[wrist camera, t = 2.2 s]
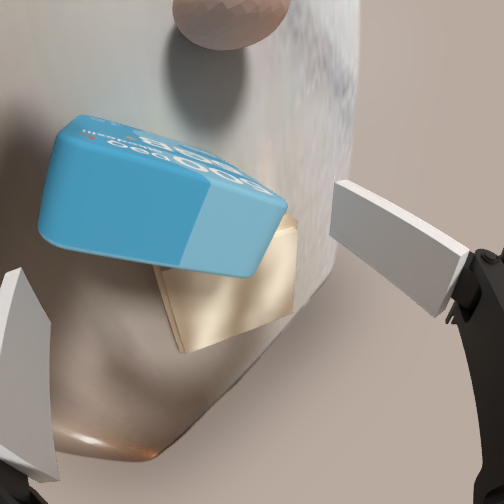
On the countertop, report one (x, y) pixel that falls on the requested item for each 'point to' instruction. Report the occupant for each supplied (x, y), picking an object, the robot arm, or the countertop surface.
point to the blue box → (154, 201)
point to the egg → (228, 21)
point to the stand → (230, 295)
